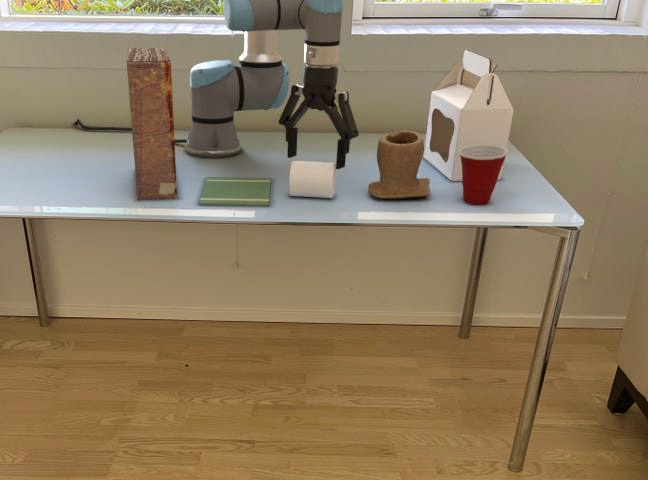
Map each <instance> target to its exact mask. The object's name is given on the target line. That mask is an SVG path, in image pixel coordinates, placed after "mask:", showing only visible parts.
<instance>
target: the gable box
mask: <svg viewBox="0 0 648 480" xmlns="http://www.w3.org/2000/svg"><path fill="white" fill-rule="evenodd" d="M497 66H498V64H496V63H494V62H493V61H492V59H491V58H489V57H486V56H484V55H481V54H479V53H477V52H474V51H471V50H468V49H465V50H464V52H463V56H462V60H460V61H458V62H456V63H454V65H452V66H451V68H450V69H449V71H448V72H447V73H446V74H445V76H443V78H442V79H441V80H440V82H439V83H438V84H437V86H436V87H434V89H433V90H432V91H431V95H430V103H429V111H428V119H427V127H426V135H425V143H424V153H423V158H424V159H425V160H426V161H427V162H428V163H429V164H431V165H432V166H433V167H434V168H435V169H437V170H438V171H439V172H440V173H441V174H442V175H444V176H445V177H446V178H447V179H448V180H450V181H451V182H462V163H461V156H460V155H459V152H458V151H459V150H460V149H461V148H463V147H466V146H472V145H496V146H501V147H504V148H506V149H507V150H508V144H509V138H510V134H511V129H512V121H513V116H514V112H515V111H514V110H515V108H514V107H513V105H512V103H511V102H510V99H509V97H508V95H507V92H506V90H505V89H504V86H503V84H502V83H501V80H500V78H499V76H498V75H497V74H496V73H494V71H495V70H496V69H497ZM475 76H478V77H480V78H479V80H478V81H476V78H475ZM505 161H506V159H505V160H504V162H503V165H502V167H501V170H500V173H499V176H498V179H497V181H501V179H502V176H503V172H504V166H505Z"/></svg>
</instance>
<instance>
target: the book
mask: <svg viewBox="0 0 648 480" xmlns="http://www.w3.org/2000/svg"><path fill="white" fill-rule="evenodd" d="M168 52H169V51H168V49H167V45H165V44H164V45H163V47H130V46H129V45H126V71H127V83H128V85H127V86H128V96H129V97H128V98H129V109H130V122H131V128H132V131H131V133H132V134H131V136H132V146H133V147H132V148H133V159H134V160H133V161H134V172H135V173H134V174H135V185H136V186H135V187H136V197H137V198H136V199H137V201H150V200H151V201H152V200H177V199H178V187H177V186H178V183H177V166H176V165H177V163H176V162H177V161H176V145H175V144H176V143H175V141H174V139H175V124H174V122H175V121H174V102H173V78H172V63H171V60H170V55H169V53H168Z"/></svg>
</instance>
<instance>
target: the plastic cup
mask: <svg viewBox="0 0 648 480" xmlns="http://www.w3.org/2000/svg"><path fill="white" fill-rule="evenodd" d="M458 152H459V155H460V156H461V163H462V181H461V182H462V183H461V184H462V198H463V199H462V200H463V202H464V203H466V204H469V205H473V206H474V205H475V206H483V205H487V204H489V202H490V200H491V198H492V195H493V192H494V189H495V187H496V184H497V181H498V180H497V179H498V176H499V173H500V170H501V167H502V165H503V162H504V163H505V161H506V157H507V156H508V154H509V150H508V148H507V149H506V148H504V147H501V146H496V145H472V146H466V147H463V148H461V149H460V150H459V151H458ZM504 160H505V161H504Z"/></svg>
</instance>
